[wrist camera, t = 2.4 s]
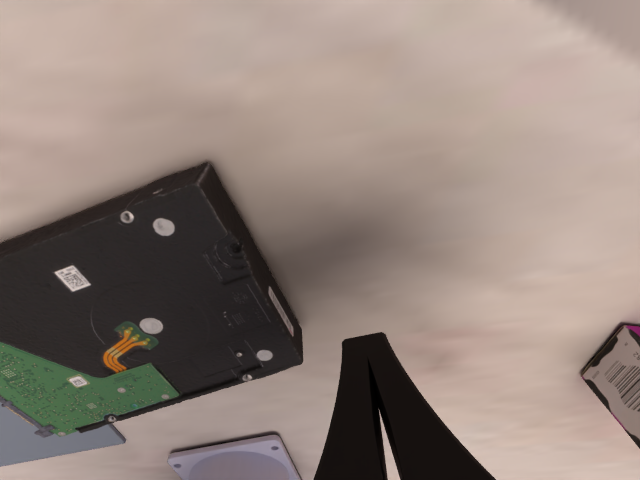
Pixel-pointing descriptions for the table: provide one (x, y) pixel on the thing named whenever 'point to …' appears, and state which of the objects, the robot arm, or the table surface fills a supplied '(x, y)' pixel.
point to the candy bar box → (619, 378)
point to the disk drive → (138, 308)
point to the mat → (46, 440)
